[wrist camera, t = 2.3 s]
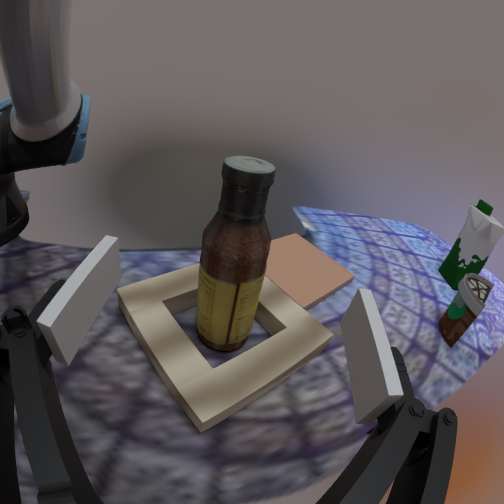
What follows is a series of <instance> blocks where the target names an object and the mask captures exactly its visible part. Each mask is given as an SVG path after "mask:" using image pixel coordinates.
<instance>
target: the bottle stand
mask: <svg viewBox="0 0 504 504" xmlns="http://www.w3.org/2000/svg"><path fill="white" fill-rule="evenodd" d="M199 265H200V263H198V264H195V265H192V266H188V267H185V268H182V269H179V270H175V271H172V272H169V273H166V274H163V275H159V276H156V277H153V278H150V279H147V280H143V281H140V282H137V283H134V284H130V285H127V286H124V287H121V288H118V289H117V294H118V301H119V307H120V309H121V311H122V313H123V314H124V316H125V318H126V320H127V322H128V324H129V326H130V327H131V329H132V331H133V333H134V335H135V336H136V338H137V340H138V341H139V343H140V345H141V347H142V348H143V350H144V352H145V353H146V355H147V357H148V358H149V360H150V361H151V363H152V365H153V366H154V368H155V369H156V371H157V373H158V374H159V376H160V377H161V379H162V380H163V382H164V383H165V385H166V386H167V388H168V389H169V391H170V392H171V394H172V395H173V396H174V398H175V399H176V401H177V402H178V403H179V405H180V406H181V408H182V409H183V410H184V412H185V413H186V414H187V416H188V417H189V418H190V420H191V421H192V422H193V424H194V425H195V426H196V428H197V429H198V430H199V431H200V433H202V432H204V431H205V430H207V429H209V428H211V427H212V426H214V425H216V424H218V423H219V422H221V421H223V420H224V419H226V418H228V417H229V416H231V415H233V414H234V413H236V412H237V411H239V410H241V409H242V408H244V407H245V406H247V405H248V404H250V403H251V402H253V401H255V400H256V399H258V398H259V397H261V396H262V395H264V394H265V393H267V392H268V391H269V390H271V389H272V388H274V387H275V386H277V385H278V384H279V383H281V382H282V381H284V380H285V379H286V378H288V377H289V376H291V375H292V374H293V373H295V372H296V371H297V370H299V369H300V368H301V367H303V366H304V365H305V364H307V363H308V362H309V361H311V360H312V359H313V358H314V357H316V356H317V355H318V354H320V353H321V352H322V351H323V350H324V349H325V348H326V346H327V345H328V343H329V341H330V340H331V338H332V337H333V334H332V333H331V332H330V331H329V330H327V329H326V328H325V327H324V326H323V325H322V324H320V323H319V322H318V321H317V320H316V319H315V318H314V317H312V316H311V315H310V314H309V313H308V312H307V311H305V310H304V309H303V308H302V307H301V306H300V305H299V304H297V303H296V302H295V301H294V300H293V299H292V298H290V297H289V296H288V295H287V294H286V293H285V292H284V291H282V290H281V289H280V288H279V287H278V286H277V285H275V284H274V283H273V282H272V281H271V280H270V279H269V278H267V277H266V276H264V280H263V284H262V288H261V292H260V296H259V300H258V304H257V308H256V312H255V316H254V319H255V320H256V321H257V322H258V323H259V324H260V325H261V326H262V327H263V328H264V329H265V330H266V331H267V332H268V333H269V334H271V335H272V337H270V338H269V339H267V340H265V341H263V342H262V343H260V344H258V345H256V346H255V347H253V348H251V349H249V350H248V351H246V352H244V353H242V354H240V355H238V356H237V357H235V358H233V359H231V360H229V361H227V362H226V363H224V364H222V365H220V366H218V367H216V368H214V369H213V368H212V367H211V366H210V365H209V363H208V362H207V361H206V360H205V358H204V357H203V356H202V355H201V353H200V352H199V351H198V349H197V348H196V347H195V346H194V344H193V343H192V342H191V340H190V339H189V338H188V336H187V335H186V334H185V332H184V331H183V330H182V328H181V327H180V326H179V324H178V323H177V322H176V320H175V319H174V318H173V316H172V315H173V314H176V313H178V312H181V311H184V310H186V309H189V308H191V307H194V306H196V305H197V297H198V279H199Z"/></svg>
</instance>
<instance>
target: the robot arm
mask: <svg viewBox="0 0 504 504" xmlns="http://www.w3.org/2000/svg"><path fill="white" fill-rule="evenodd" d="M71 7H72V0H0V62H1V66H2V69H3V73H4V76H5V80H6V84H7V87H8V89H9V93H10V96H11V98H7V99H4V100H1V101H0V245H3V244H5V243H7V242H8V241H10V240H12V239H13V238H15V237H16V236H17V235H18V234H20V233H21V232H22V230H24V228H25V227H26V226H27V224H28V222H29V213H28V207H27V204H26V202H25V200H24V198H23V196H22V194H21V192H20V190H19V188H18V186H17V184H16V182H15V175H14V174H15V173H14V172H17V171H22V170H28V169H34V168H41V167H49V166H56V165H62V166H65V165H67V164H71V163H77V162H79V161H80V160H81V159H82V158H83V156H84V152H85V146H86V134H87V129H88V122H89V112H90V104H91V98H90V96H89V95H84V94H80V91H79V88H78V87H77V85H76V84H75V83H74V82H72V81H71V80H70V66H69V45H70V43H69V41H70V21H71ZM12 104H13V105H12ZM121 278H122V276H121V267H120V256H119V243H118V238H116V237H111V236H105V238H104V239H103V240H102V241H101V242H100V243H99V244H98V245H97V246H96V247H95V248H94V249H93V251H92V252H91V253H90V254H89V255H88V256H87V257H86V259H85V260H84V261H83V262H82V263H81V264H80V266H79V267H78V268H77V269H76V270H75V272H74V273H73V274H72V275H71V276H70V278H69V279H68V280H67V281H64V280H59V281H57V282H56V283H54V284H53V285H52V286H51V287H50V288H49V290H48V291H47V293H45V295H44V296H43V297H42V299H41V300H40V301H39V302H38V304H37V305H36V306H35V308H34V309H33V310H32V311H31V313H30V314H29V316H27V314H26V311H25V310H24V309H23V308H22V307H19V306H13V307H11V308H9V309H7V310H6V311H5V312H4V314H3V315H2V318H1V321H2V323H3V325H0V504H21V497H20V491H19V484H18V477H17V469H16V458H15V443H14V401H15V406H16V412H17V417H18V422H19V426H20V430H21V435H22V439H23V442H24V446H25V450H26V453H27V456H28V460H29V463H30V466H31V469H32V472H33V475H34V478H35V480H36V483H37V486H38V489H39V493H38V495H37V500H38V504H103V502H102V501H101V500H100V499H99V497H98V496H97V495H96V493H95V491H94V489H93V487H92V485H91V483H90V481H89V479H88V477H87V475H86V472H85V470H84V468H83V466H82V463H81V461H80V458H79V456H78V454H77V451H76V448H75V446H74V443H73V440H72V438H71V435H70V432H69V429H68V426H67V423H66V420H65V417H64V414H63V410H62V407H61V403H60V400H59V396H58V392H57V388H56V384H55V380H54V375H53V371H52V366H51V362H50V360H49V358H50V356H51V355H52V354H53V356H54V358H55V360H56V361H58V362H60V363H62V364H64V365H67V366H69V365H70V363H71V362H72V360H73V358H74V356H75V354H76V352H77V351H78V349H79V347H80V345H81V343H82V342H83V340H84V338H85V336H86V335H87V333H88V331H89V329H90V328H91V326H92V324H93V323H94V321H95V319H96V318H97V316H98V314H99V313H100V311H101V309H102V308H103V306H104V305H105V303H106V301H107V300H108V298H109V297H110V295H111V293H112V292H113V290H114V289H115V287H116V286H117V284H118V283H119V281H120V280H121ZM340 326H341V331H342V336H343V342H344V347H345V352H346V358H347V364H348V370H349V376H350V382H351V388H352V395H353V402H354V409H355V416H356V424H370V423H372V422H373V421H374V420H375V419H377V420H378V424H377V425H376V426H375V427H374V428H372V429H371V430H370V431H368V432H367V434H370V433H371V434H370V435H369V437H368V438H367V440H366V441H365V443H364V444H363V445H362V447H361V448H360V450H359V451H358V453H357V454H356V455H355V457H354V458H353V459H352V461H351V462H350V463H349V465H348V466H347V467H346V469H345V470H344V471H343V472H342V474H341V475H340V476H339V477H338V479H337V480H336V481H335V482H334V483H333V485H332V486H331V487H330V488H329V490H327V492H326V493H325V494H324V495H323V496H322V497H321V499H319V501H318V502H317V503H316V504H379V502H380V501H381V499H382V498H383V496H384V495H385V493H386V492H387V490H388V488H389V487H390V485H391V483H392V482H393V480H394V479H395V480H394V483H393V486H392V489H391V492H390V494H389V497H388V500H387V502H386V504H444V501H445V497H446V493H447V489H448V485H449V480H450V475H451V469H452V464H453V457H454V450H455V443H456V434H457V416H456V414H455V413H454V411H453V410H451V409H450V408H443V409H441V410H440V411H439V412H434V411H431V410H427V409H426V408H425V406H424V404H423V403H422V402H421V401H420V400H418V399H416V398H415V397H414V393H413V390H412V386H411V383H410V379H409V376H408V373H407V369H406V366H405V363H404V360H403V357H402V355H401V353H400V352H399V350H398V349H397V347H390V345H389V342H388V339H387V335H386V332H385V329H384V326H383V323H382V320H381V317H380V315H379V312H378V309H377V306H376V303H375V300H374V298H373V295H372V292H371V290H367V289H362V288H359V289H358V291H357V292H356V294H355V296H354V298H353V300H352V302H351V304H350V305H349V307H348V309H347V311H346V313H345V314H344V316H343V318H342V320H341V321H340Z"/></svg>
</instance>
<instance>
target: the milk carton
mask: <svg viewBox="0 0 504 504" xmlns="http://www.w3.org/2000/svg"><path fill="white" fill-rule="evenodd" d="M492 210H493V208H492V207H491V206H490V205H489V204H487V203H486V202H484V201H483V200H479V202H478V205H477V206H474V205H470V207H469V211H468V216H467V219H466V222H465V224H464V226H463V228H462V231H461V232H460V234H459V236H458V238H457V240H456V242H455V244H454V245H453V247H452V249H451V251H450V253H449V254H448V256H447V257H446V259H445V261H444V262H443V264H442V265H441V267H440V268H439V270H438V271H439V272H440V273H441V274H442V276H443V277H444V278H445V280H446V281H447V282H448V283H449V285H450V286H451V287H452V289H453V290H459V289H458V284H459V282H460V281H461V280H462V279H463V278H464V277H465V276H466V275H468V274H469V273H475V274H479V273H480V271H481V269H482V268H483V266H484V265H485V263H486V261H487V259H488V258H489V256H490V254H491V252H492V250H493V249H494V247H495V245H496V243H497V242H498V240H499V239H500V237H501V236H502V234H503V232H504V227H503V226H502V225H501V224H500V223H499V222H498V221H497V220H495V219H494V218H493V217H492V216H491V213H492Z"/></svg>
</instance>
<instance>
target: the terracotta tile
mask: <svg viewBox="0 0 504 504" xmlns="http://www.w3.org/2000/svg"><path fill="white" fill-rule="evenodd" d="M266 264H267V268H266V273H265V276H266V277H267V278H269V279H270V280H271V281H272V282H273V283H274V284H275V285H277V286H278V287H279V288H280V289H281V290H282V291H284V292H285V293H286V294H287V295H288V296H289V297H290V298H292V299H293V300H294V301H295V302H296V303H297V304H299V305H300V306H301V307H302V308H303V309H304V310H305V311H306V310H308V309H309V308H311V307H313V306H314V305H316V304H318V303H319V302H321V301H322V300H324V299H326V298H327V297H329V296H330V295H332V294H333V293H335V292H337V291H338V290H340V289H341V288H343V287H344V286H346V285H347V284H349V283H350V282H352V281H353V279H354V277H355V276H354V275H353V274H352V273H350V272H349V271H348V270H346V269H345V268H344V267H342V266H341V265H340V264H338V263H337V262H335V261H334V260H333V259H331V258H330V257H329V256H327V255H326V254H324V253H323V252H322V251H320V250H319V249H318V248H316V247H315V246H313V245H312V244H311V243H309V242H308V241H306V240H305V239H303V238H302V237H301V236H299V235H298V234H296V233H295V234H292V235H288V236H285V237H282V238H279V239H275V240H272V241H271V245H270V251H269V255H268V258H267V263H266Z"/></svg>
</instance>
